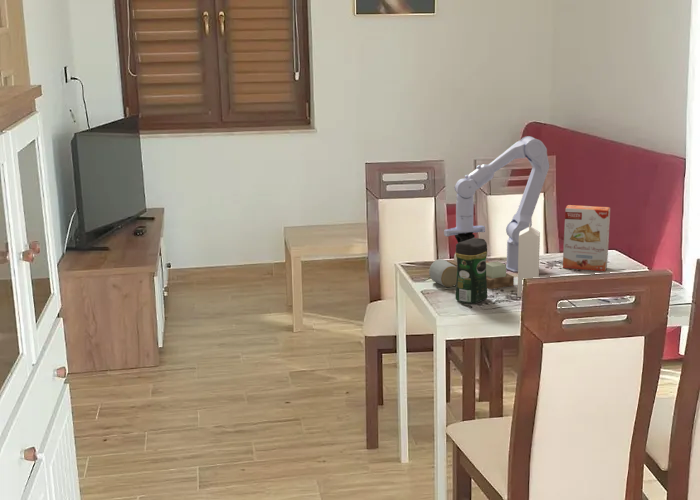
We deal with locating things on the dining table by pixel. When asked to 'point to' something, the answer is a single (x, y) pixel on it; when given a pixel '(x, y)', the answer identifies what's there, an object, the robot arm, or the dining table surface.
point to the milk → (528, 255)
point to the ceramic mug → (443, 273)
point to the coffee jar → (471, 271)
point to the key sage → (495, 269)
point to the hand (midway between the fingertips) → (464, 254)
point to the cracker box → (586, 237)
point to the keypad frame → (494, 279)
